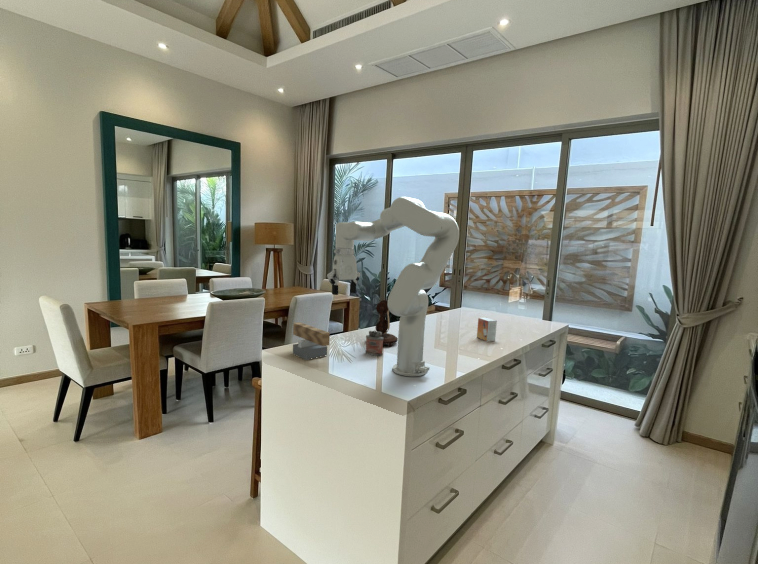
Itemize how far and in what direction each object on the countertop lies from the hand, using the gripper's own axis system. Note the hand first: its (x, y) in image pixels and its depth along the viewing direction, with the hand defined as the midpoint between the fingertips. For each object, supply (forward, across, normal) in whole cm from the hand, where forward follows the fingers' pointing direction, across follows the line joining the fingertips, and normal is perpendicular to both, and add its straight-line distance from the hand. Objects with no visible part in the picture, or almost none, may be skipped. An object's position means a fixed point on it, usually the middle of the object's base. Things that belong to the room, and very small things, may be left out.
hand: (344, 293), depth 164 cm
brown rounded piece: (+26, +25, +2) cm, 36 cm away
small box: (+27, +74, -25) cm, 83 cm away
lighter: (+26, +10, -8) cm, 29 cm away
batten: (+19, -12, +6) cm, 23 cm away
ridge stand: (+25, -13, +6) cm, 29 cm away
